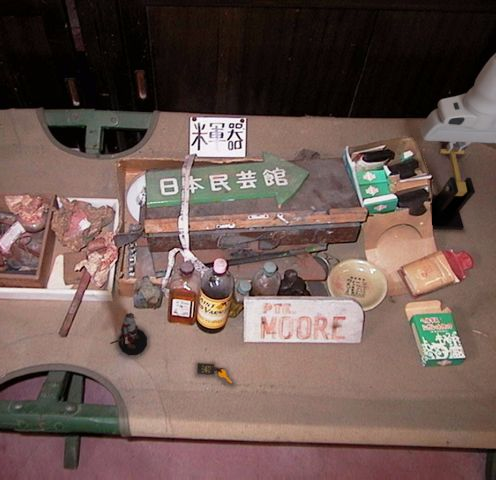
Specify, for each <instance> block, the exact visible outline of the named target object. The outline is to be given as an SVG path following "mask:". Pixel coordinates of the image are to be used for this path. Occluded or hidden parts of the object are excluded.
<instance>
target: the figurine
mask: <svg viewBox="0 0 496 480" xmlns="http://www.w3.org/2000/svg"><path fill="white" fill-rule="evenodd" d="M136 320H138V318H137V317H135V315H134V313H133V312H129V313H125V316H124V319H123V322H122V324H121V328H120V332H121V334H120V336H119V337H118V339H117V340H114V341H111V342H109V345H113V344H115V343H118V347H119V348H120V350H121V352H122V353H124V354H126V355H127V356H138V355H140V354H142V353H143V352H144V351H145V349H146V348H147V346H148V337H147V335H146V333H145V332H144V331H143V330H141V329H140V328H139V326H138V325H137V322H136Z"/></svg>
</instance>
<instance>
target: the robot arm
mask: <svg viewBox="0 0 496 480" xmlns="http://www.w3.org/2000/svg"><path fill="white" fill-rule="evenodd" d="M420 134H421V136H422V139H423V140H424V141H425V142H449V143H448V145H447V147H446V148H447V151H448V152H460V151H461V149H462V148H464V147H466V146H467V147H469V145H471V144H472V143H477V144H479V143H480V144H496V52H495V53H494V54H493V55H492V56H491V57H490V58H489V60H488V61H487V62H486V63H485V64H484V66H483V67H482V69H480V72H479V73H478V75H477V77H476V78H475V80H474V84H473V86H472V87H471V88H470V89H469V90H468V91H467V92H465V93H462V94H458V95H454V96H450V97H446V98H442V99H440V100H439V101H438V102H437V107H436V108H435V109H434V110H432V111H431V112H430V113H429V115H428V116H427V117H426V119H425V120H424V122H423V123H422V125H421V127H420ZM456 142H458V143H456Z"/></svg>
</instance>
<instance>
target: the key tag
mask: <svg viewBox="0 0 496 480" xmlns="http://www.w3.org/2000/svg"><path fill="white" fill-rule="evenodd" d="M215 371H216V372H218V373H217V376H218V377H220V378H223V379H225V380H226V381H227V382H228V383H229V384H232V383H233V382H232V380H231V379H230V378H229V377H228V374H227V371H226V370H225V369H222V368H221V369H220V368H215V364H204V363H203V364H202V363H201V364H199V363H198V366H197V374H198V375H215Z"/></svg>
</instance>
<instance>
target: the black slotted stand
mask: <svg viewBox="0 0 496 480" xmlns="http://www.w3.org/2000/svg"><path fill="white" fill-rule="evenodd" d="M463 182H465V183H466V188H467V192H466V193H465V194H464V195H463V196H455V195H456V194H457V193H458V188H457V184H456V181H455V178H454V176H450V177H449V179H448V180H447V181H446V183H445V184H444V185H443V187H442V188H441V189H440V191H439V192H438V194H437V195H432V196H433V199H432V204H431V205H432V225H433V229H432V230H449V231H450V230H452V231H453V230H454V231H463V230H464V228H465V226H464V223H463V220H462V216H461V212H460V211H461V210H462V209H463V207H464V206H465V205H466V204H467V203H468V202H469V200H470V199H471V198H472V197H473V195H474V194H475V193H476V191H475V187H474V184H473V181H472V178H471V177H466V178H465V180H464V181H463Z"/></svg>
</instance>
